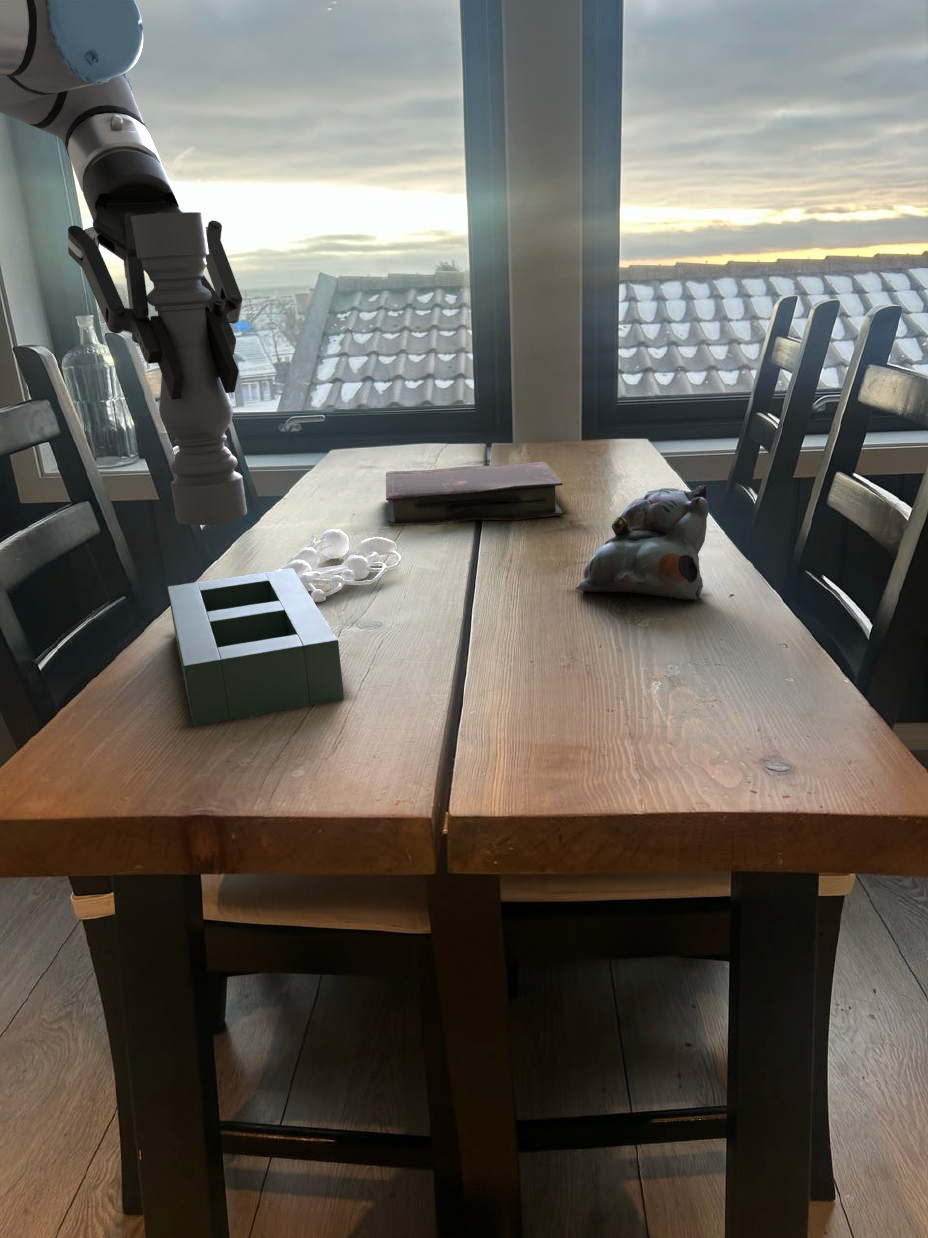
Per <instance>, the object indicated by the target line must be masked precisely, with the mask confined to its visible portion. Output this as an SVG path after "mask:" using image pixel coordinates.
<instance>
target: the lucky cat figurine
mask: <svg viewBox="0 0 928 1238" xmlns="http://www.w3.org/2000/svg"><path fill="white" fill-rule="evenodd" d="M707 493H708V492H707V486H706V484H705V485H704V484H703V485H699V486H697V487H694V488H693V489H692V490H690V491H686V490H683V489H680V488H675V487H660V488H658V489H654V490H648V491H647V492H646V493H645V495H644V496H641V497H639V498H637V499H634V500H633V501H631V502H629V504H628V505H627V506H626V507H625V508H624V510H622V512H621V513H620V515H619V516H617V517H616V518H615V519H614V520H613V523H612V524H611V529H612V531H613V533H614V535H615V536H613V537H611V538H609V539H608V540H606V541H605V542H604V545H602V546H601V547H599V548H598V549H597V550H596V551H595V552H594V555H593V556H592V557H591V558H590V559H589V561H588V562H587V564H586V565H585V567H584V570H583V580H580V581H579V582H578V583H577V585H574V588H575V589H577V590H579V591H582V592H583V593H597V592H598V593H600V592H604V593H605V592H609V593H611V592H612V593H613V592H615V593H616V592H619V593H620V592H624V593H632V594H640V595H649V596H657V597H664V598H671V599H672V598H673V599H679V600H684V601H689V602H693V603H695V602H696V601H697V600H699V598H700V596H701V593H702V590H703V587H704V584H703V577H702V575H701V570H700V556H699V554H700V551H701V549H702V547H703V546H704V543H705V540H706V534H707V528H708V525H707V524H708V523H707V522H708V516H709V510H710V509H709V501H708V500H707Z"/></svg>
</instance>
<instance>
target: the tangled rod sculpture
mask: <svg viewBox="0 0 928 1238" xmlns="http://www.w3.org/2000/svg"><path fill="white" fill-rule="evenodd" d="M310 539H311V540H310V543H309V544H308V545H306V546H304V547H303V548H302V549H301V550H300V551H298V553H297V554H295V555H293V556H292V557H291V558H290V559H289V560H288V561H287V563H286V564H284V565H282V566H280V567H279V568H276V570H275V571H278V570H285V569H291V568H293V570H294V571H295V573H296V574H297V576H298V578H299V579H300V581H301V582H302V584H303V585H304V587H305V589H306V590H307V592H308V593H309V592H311V593H310V597H311V598H312V600H313V601H314V603H320V602H324V601H325V600H326V598H327V597H328V596H330V595H333V594H335V593H337V592H339V591H340V590H342V589H343V588H344V586H345V585H348V586H364V585H365V586H366V585H371V584H374V583H376V582H378V580H380V579H381V578H382V576H383V575H384V573H386V572H388V571H392V570H395V569H397V568H398V567H400V565H401V564H402V560H403V559H402V555H400V553H398V552H397V551H396V549H397V544H396V542H395V541H393V540H391V539H388V538H384V537H380V536H375V537H374V536H373V537H370V538H365V539H363V540H362V541H360V542H359V543H358V545H357V546H356V549H355V550H353V552H351V553H350V554H349V555H348V556H347V557H346V558H345V559H344V560H343V562H342V563H341V564H338V565H332V566H324V567H318V566H319V564H320V562H321V561H320V559H321V557H320V553H322V554H323V555H324V556H325V557H326V558H329V559H332V560H336V559H341V558H342V557H344V556H345V555H346V554H347V553H348V551H349V550H350V539H349V537H348V535H347V534H346V533H345V532H344V531H343V530H341V529H337V528H331V529H328V530H326V531H324V532H323V534H322V535H321V537H320V539H319V540H318V541H316V540H317V536H316V535H312V536H311V537H310ZM317 548H319V549H318V550H317ZM386 556H395V557H396V558H397V562H396V563H394V564H393V565H390V566H387V564H386V563H384V562H383V561H381V560H382V559H383V558H385V557H386ZM317 567H318V568H317ZM376 567H379V568H376ZM370 573H377V574H376V575H375V577H373V578H371V579H366V578H367V577H368V576H369V574H370ZM338 574H340V575H338ZM328 577H331V578H329V579H327V578H328ZM365 579H366V580H365ZM317 585H327V586H329V587H330V588H331V590H328V591H326V592H325V591H323V590H322V589H320V588H317V589H316V586H317Z"/></svg>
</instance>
